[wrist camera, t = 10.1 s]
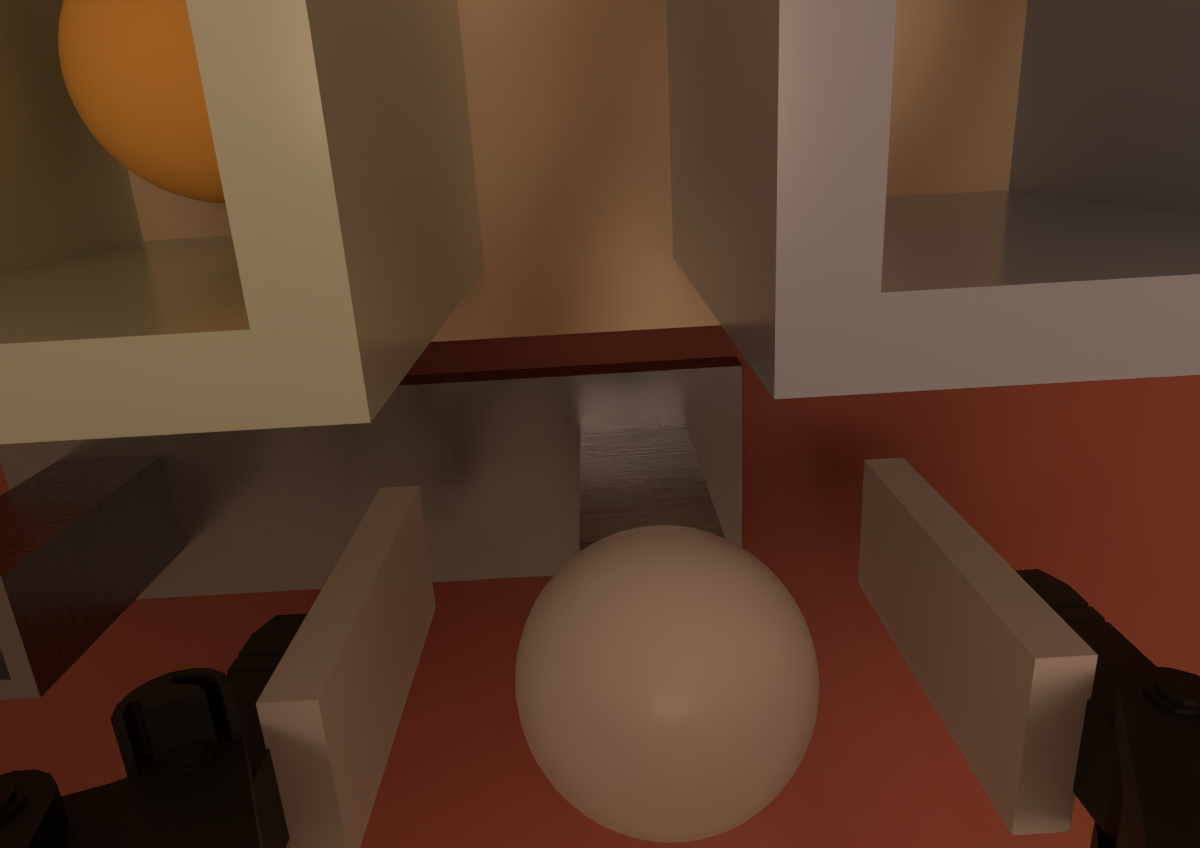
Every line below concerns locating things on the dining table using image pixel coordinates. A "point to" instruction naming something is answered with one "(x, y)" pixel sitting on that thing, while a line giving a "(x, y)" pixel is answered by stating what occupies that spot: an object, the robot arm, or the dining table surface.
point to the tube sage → (239, 227)
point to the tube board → (650, 154)
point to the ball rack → (360, 494)
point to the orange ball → (141, 90)
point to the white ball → (667, 683)
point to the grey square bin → (938, 201)
